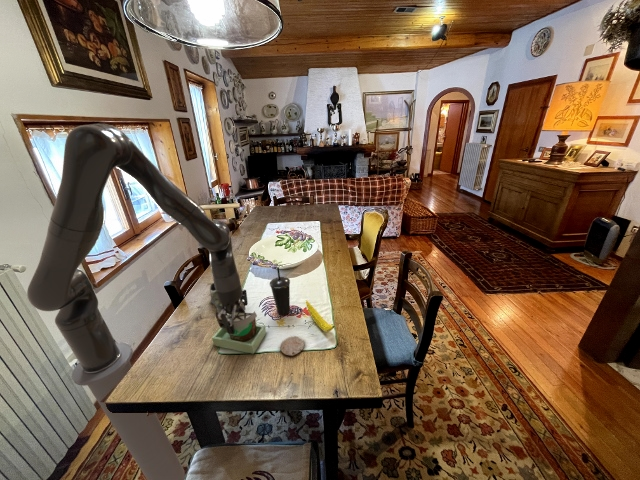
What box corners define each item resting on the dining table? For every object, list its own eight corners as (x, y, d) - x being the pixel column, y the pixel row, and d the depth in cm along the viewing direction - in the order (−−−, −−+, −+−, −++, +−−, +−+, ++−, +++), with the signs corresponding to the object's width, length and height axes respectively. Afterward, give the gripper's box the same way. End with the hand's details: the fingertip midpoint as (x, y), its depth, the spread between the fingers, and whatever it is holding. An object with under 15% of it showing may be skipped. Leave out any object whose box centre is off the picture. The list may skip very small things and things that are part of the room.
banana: (310, 308, 101) (309, 295, 98) (338, 339, 86) (337, 324, 84) (303, 311, 100) (302, 298, 97) (331, 342, 85) (330, 328, 82)
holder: (214, 345, 86) (211, 337, 84) (229, 326, 94) (227, 319, 92) (253, 353, 82) (252, 345, 81) (266, 333, 90) (265, 325, 89)
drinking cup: (276, 320, 96) (269, 275, 88) (272, 308, 103) (265, 265, 94) (295, 314, 99) (290, 270, 90) (290, 302, 105) (285, 260, 97)
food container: (219, 343, 86) (212, 321, 82) (228, 330, 91) (222, 308, 87) (253, 347, 84) (248, 324, 80) (260, 333, 89) (256, 311, 85)
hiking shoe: (229, 325, 94) (224, 305, 91) (204, 302, 108) (199, 283, 104) (249, 314, 100) (245, 294, 96) (222, 293, 113) (218, 275, 110)
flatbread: (286, 360, 79) (286, 358, 79) (276, 344, 85) (276, 342, 85) (309, 348, 83) (308, 346, 82) (298, 334, 89) (298, 332, 88)
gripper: (224, 300, 71) (235, 344, 78) (250, 273, 84) (257, 313, 91) (202, 296, 73) (214, 340, 80) (230, 271, 86) (239, 310, 93)
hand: (237, 325), depth 85 cm, fingers closed on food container, 6 cm apart
